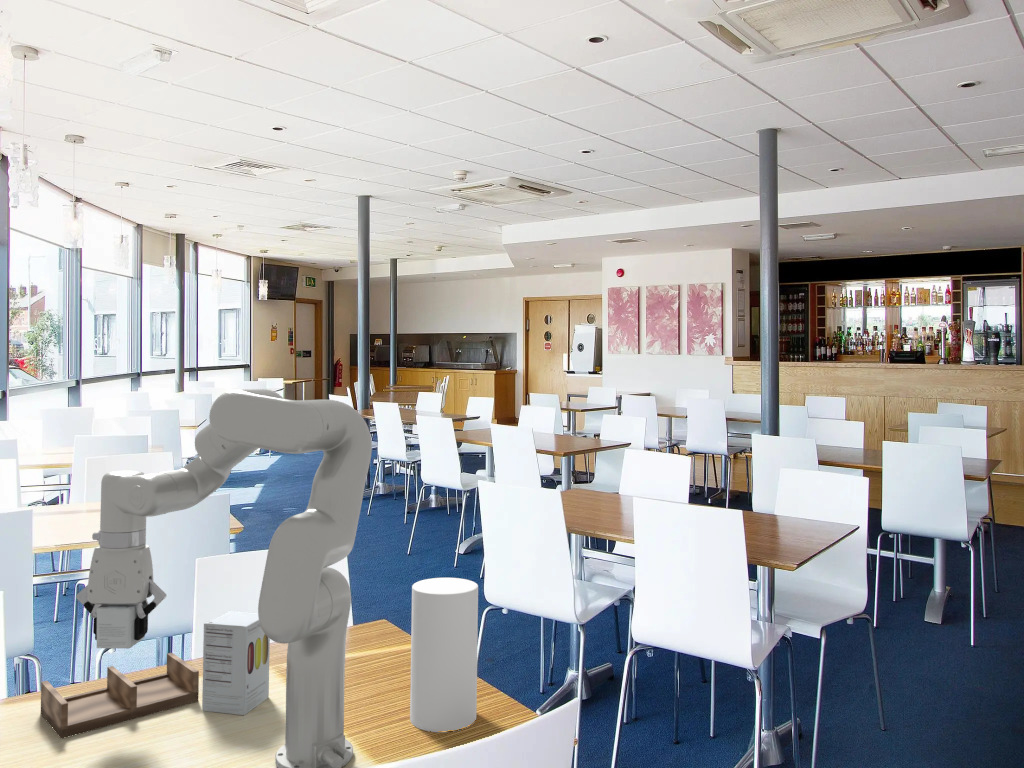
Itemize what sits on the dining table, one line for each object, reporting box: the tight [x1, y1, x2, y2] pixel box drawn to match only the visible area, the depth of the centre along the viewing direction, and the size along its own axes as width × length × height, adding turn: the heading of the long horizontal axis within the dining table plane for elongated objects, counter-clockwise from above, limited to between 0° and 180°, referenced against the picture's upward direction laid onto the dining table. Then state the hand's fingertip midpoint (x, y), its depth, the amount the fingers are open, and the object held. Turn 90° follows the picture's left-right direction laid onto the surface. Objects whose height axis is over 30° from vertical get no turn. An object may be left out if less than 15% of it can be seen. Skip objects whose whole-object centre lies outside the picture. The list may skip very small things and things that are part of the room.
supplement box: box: [201, 610, 271, 716], centre depth 151 cm, size 10×9×17 cm
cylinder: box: [409, 577, 479, 733], centre depth 146 cm, size 12×12×25 cm
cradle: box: [40, 652, 200, 739], centre depth 149 cm, size 14×24×6 cm, turn 134°
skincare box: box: [96, 605, 146, 650], centre depth 141 cm, size 6×6×7 cm
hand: (120, 636), depth 141 cm, fingers closed on skincare box, 6 cm apart
